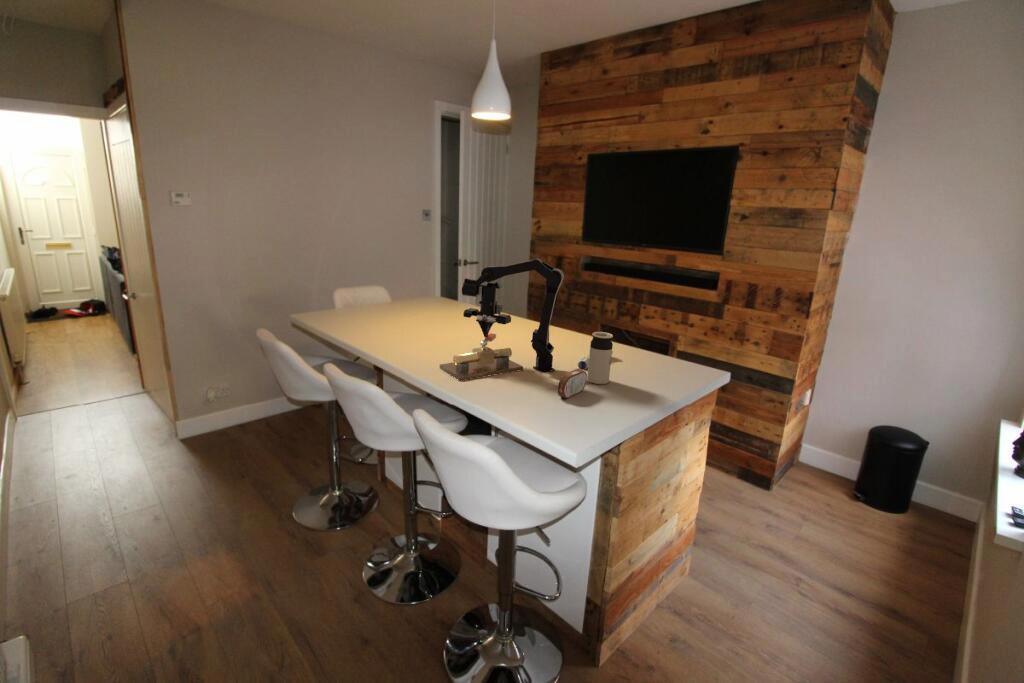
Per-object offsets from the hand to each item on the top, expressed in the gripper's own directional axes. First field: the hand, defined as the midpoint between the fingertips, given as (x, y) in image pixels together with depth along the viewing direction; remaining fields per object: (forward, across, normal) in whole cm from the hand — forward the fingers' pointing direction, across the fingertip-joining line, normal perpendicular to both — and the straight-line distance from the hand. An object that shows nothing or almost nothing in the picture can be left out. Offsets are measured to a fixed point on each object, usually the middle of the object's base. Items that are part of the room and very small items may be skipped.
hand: (485, 337), depth 192 cm
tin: (+10, -42, +15) cm, 46 cm away
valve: (+11, -4, +8) cm, 14 cm away
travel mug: (+9, -46, -4) cm, 47 cm away
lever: (+1, -3, +3) cm, 4 cm away
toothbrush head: (+10, -39, -26) cm, 48 cm away
